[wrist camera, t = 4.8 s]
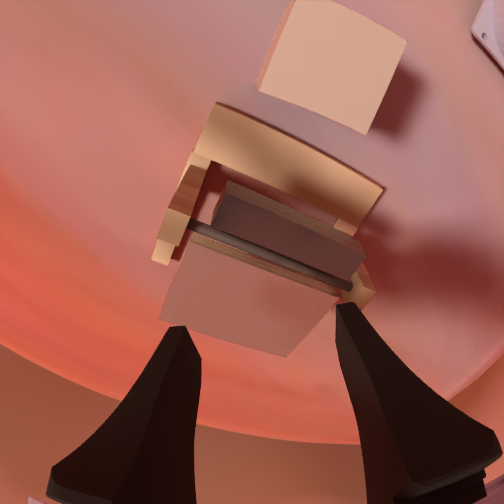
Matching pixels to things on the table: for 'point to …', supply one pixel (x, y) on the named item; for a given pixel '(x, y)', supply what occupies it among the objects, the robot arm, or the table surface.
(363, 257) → the trapdoor
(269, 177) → the frame
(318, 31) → the beige block
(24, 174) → the table surface
